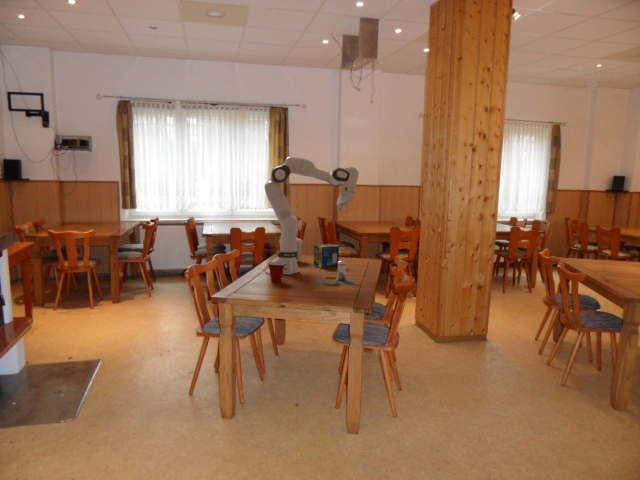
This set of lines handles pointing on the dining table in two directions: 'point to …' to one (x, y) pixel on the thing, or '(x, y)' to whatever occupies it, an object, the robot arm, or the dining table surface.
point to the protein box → (326, 255)
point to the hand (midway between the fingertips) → (341, 210)
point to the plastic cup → (276, 271)
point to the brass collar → (330, 280)
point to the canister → (299, 245)
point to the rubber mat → (339, 282)
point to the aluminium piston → (341, 270)
